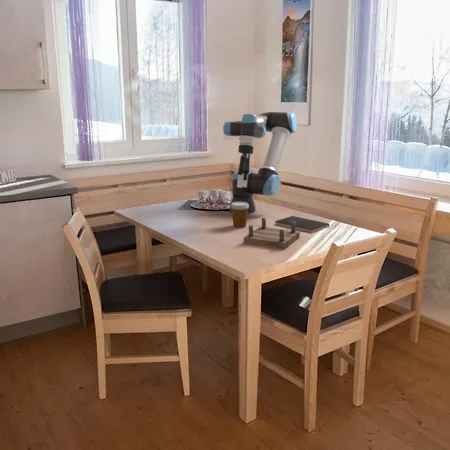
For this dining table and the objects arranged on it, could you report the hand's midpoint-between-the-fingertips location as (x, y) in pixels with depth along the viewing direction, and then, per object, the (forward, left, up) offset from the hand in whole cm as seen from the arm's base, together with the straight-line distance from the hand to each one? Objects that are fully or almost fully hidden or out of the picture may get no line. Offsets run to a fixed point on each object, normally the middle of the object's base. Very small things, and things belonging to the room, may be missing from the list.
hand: (241, 187), depth 251 cm
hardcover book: (-14, +28, -21) cm, 38 cm away
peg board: (+17, +24, -20) cm, 35 cm away
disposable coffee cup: (+2, 0, -20) cm, 20 cm away
